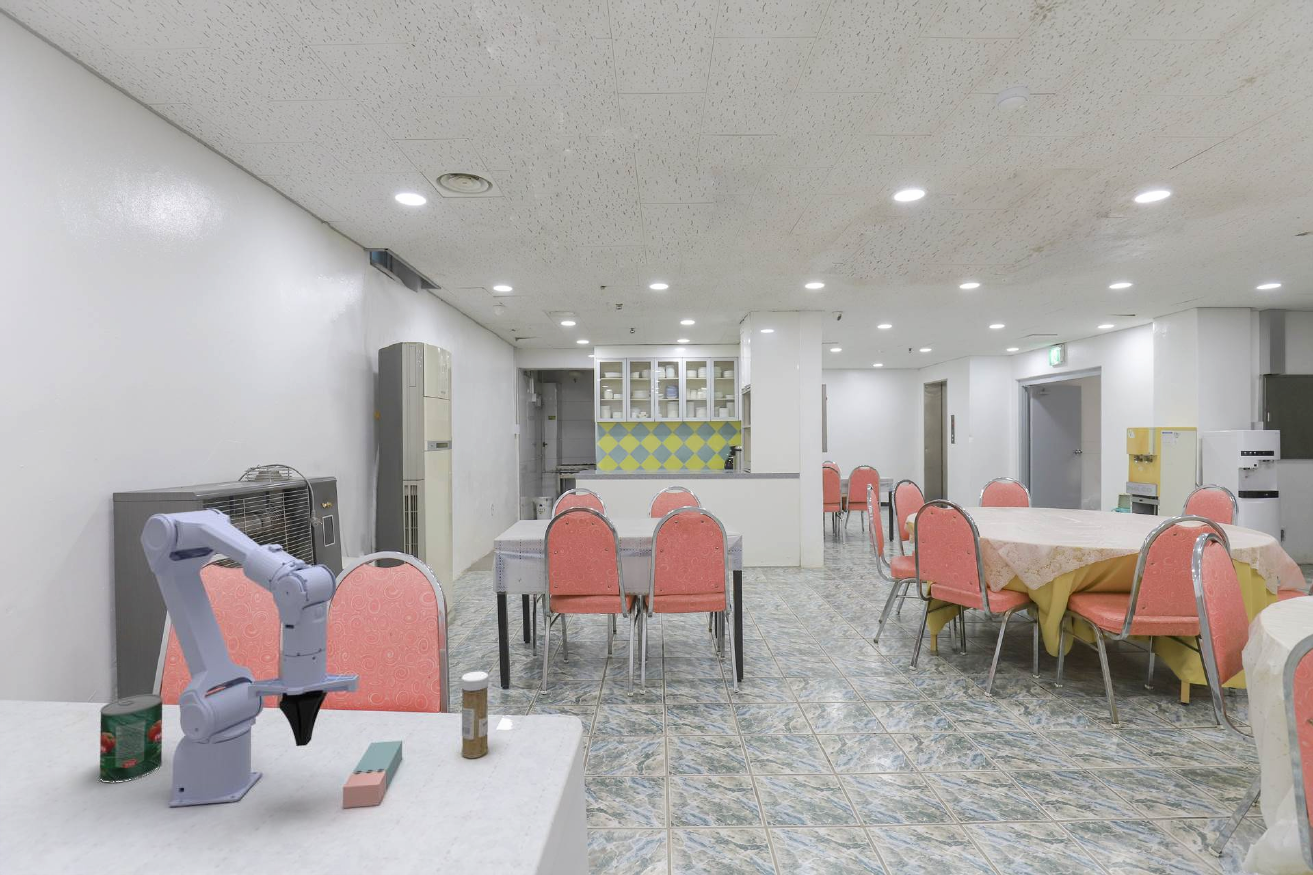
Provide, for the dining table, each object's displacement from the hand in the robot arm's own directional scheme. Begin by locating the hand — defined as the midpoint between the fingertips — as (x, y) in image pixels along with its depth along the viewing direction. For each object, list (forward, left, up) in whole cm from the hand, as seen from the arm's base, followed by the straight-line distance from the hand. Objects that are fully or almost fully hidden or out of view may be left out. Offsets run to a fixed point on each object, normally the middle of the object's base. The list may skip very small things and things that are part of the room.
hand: (303, 742), depth 92 cm
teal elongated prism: (+8, +8, -9) cm, 15 cm away
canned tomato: (-32, +16, -10) cm, 37 cm away
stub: (+8, +1, -9) cm, 13 cm away
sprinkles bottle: (+23, +13, -10) cm, 28 cm away
